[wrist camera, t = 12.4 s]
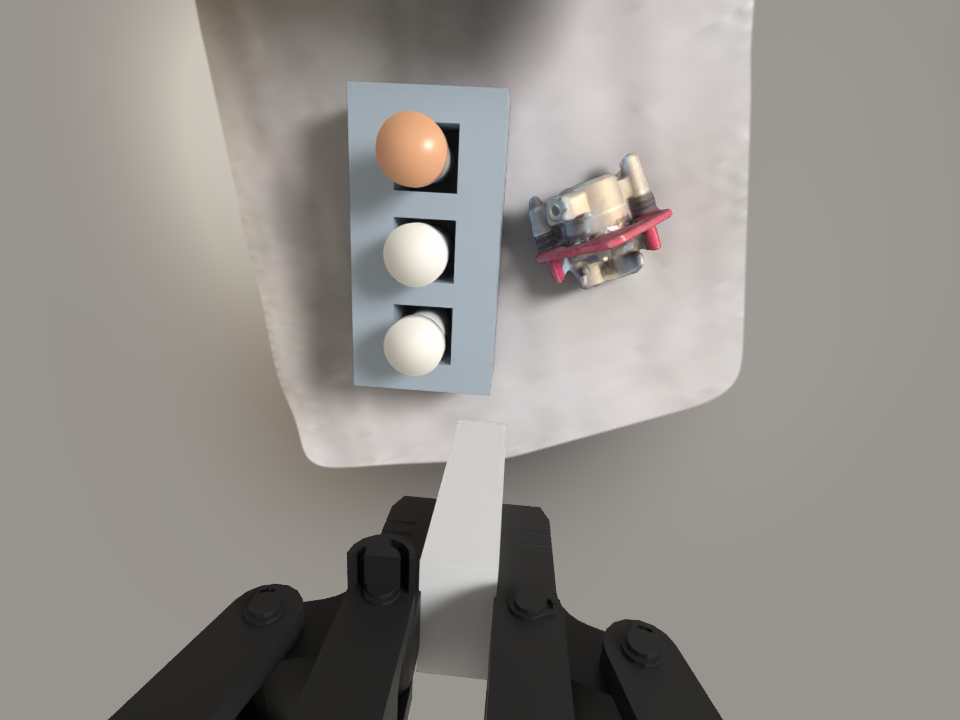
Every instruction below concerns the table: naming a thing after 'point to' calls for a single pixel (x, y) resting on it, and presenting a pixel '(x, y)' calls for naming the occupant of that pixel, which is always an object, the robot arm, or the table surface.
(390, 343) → the cream plunger
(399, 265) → the cream plunger
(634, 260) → the brake caliper
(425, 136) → the peach ball knob
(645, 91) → the table surface
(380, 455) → the table surface
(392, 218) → the blue peg holder block
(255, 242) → the table surface
